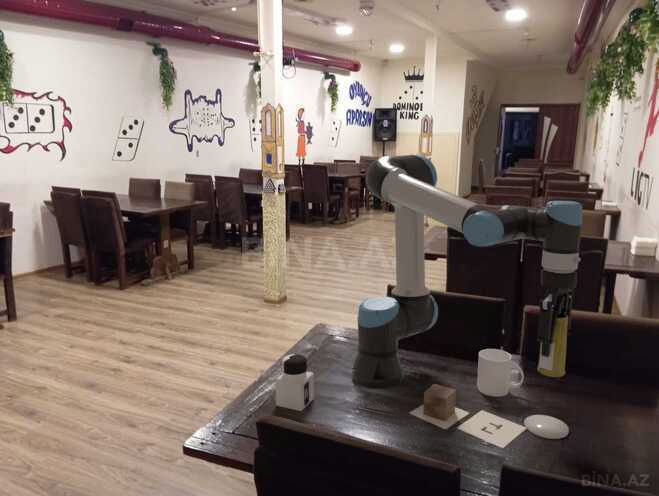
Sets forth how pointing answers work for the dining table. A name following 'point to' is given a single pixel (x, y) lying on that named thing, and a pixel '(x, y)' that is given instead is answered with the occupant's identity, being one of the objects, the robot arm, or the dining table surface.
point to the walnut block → (439, 402)
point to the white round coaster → (546, 426)
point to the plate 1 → (443, 424)
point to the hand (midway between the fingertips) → (551, 363)
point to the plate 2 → (492, 428)
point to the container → (294, 383)
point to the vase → (558, 349)
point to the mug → (496, 372)
